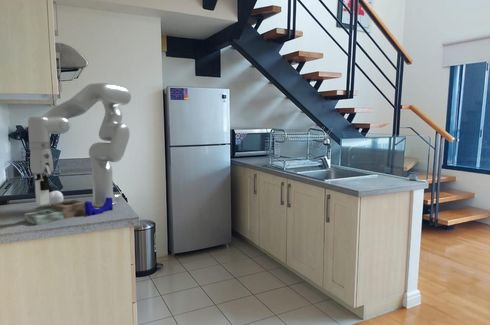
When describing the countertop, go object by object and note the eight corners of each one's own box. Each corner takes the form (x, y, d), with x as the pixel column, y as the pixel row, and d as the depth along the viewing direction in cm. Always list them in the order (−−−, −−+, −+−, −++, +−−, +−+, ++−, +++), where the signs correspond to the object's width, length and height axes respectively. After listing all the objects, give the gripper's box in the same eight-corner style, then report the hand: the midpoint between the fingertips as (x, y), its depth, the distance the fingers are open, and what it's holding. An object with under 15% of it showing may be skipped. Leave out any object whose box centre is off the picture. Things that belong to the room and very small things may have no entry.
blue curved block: (90, 216, 155) (90, 203, 154) (85, 214, 157) (84, 201, 156) (114, 210, 164) (114, 198, 164) (109, 209, 167) (108, 197, 166)
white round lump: (46, 205, 173) (45, 190, 172) (63, 203, 176) (63, 188, 175) (45, 208, 166) (44, 193, 165) (63, 207, 169) (62, 191, 168)
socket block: (74, 210, 164) (73, 199, 163) (86, 213, 159) (86, 202, 158) (24, 220, 145) (24, 209, 145) (37, 224, 140) (36, 212, 140)
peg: (44, 202, 149) (43, 179, 148) (49, 203, 147) (48, 180, 146) (36, 203, 146) (34, 180, 145) (40, 204, 144) (39, 181, 143)
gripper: (59, 146, 142) (61, 190, 144) (38, 145, 151) (41, 186, 153) (41, 147, 136) (43, 193, 138) (20, 145, 145) (22, 188, 147)
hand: (42, 189), depth 146 cm, fingers closed on peg, 3 cm apart
